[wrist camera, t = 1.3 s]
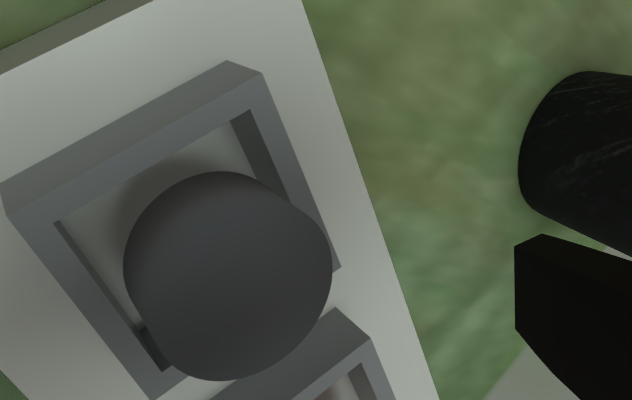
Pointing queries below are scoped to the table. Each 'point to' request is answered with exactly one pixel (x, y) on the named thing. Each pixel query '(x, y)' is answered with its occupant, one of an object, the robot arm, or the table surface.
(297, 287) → the grey button
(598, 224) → the travel mug
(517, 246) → the robot arm
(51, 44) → the button panel
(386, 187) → the table surface
